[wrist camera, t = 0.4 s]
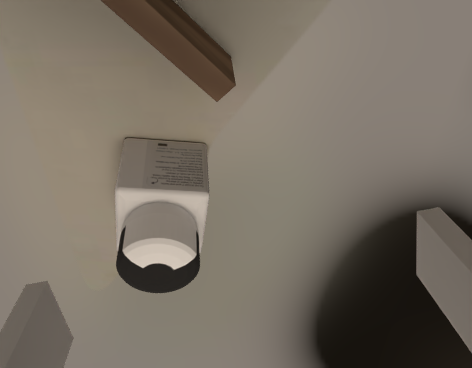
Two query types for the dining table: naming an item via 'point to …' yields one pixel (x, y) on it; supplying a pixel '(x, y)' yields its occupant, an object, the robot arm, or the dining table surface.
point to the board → (179, 42)
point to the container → (160, 213)
